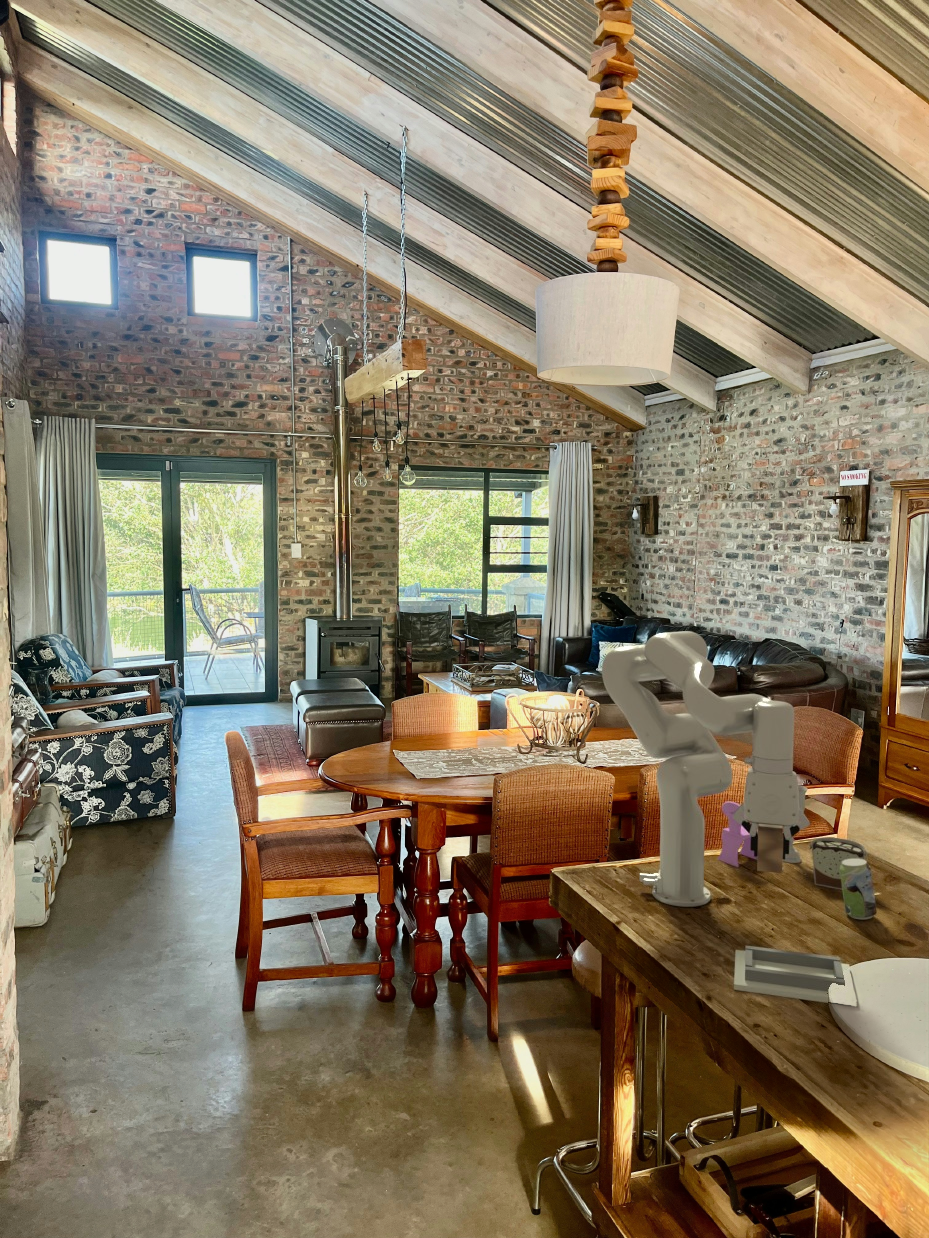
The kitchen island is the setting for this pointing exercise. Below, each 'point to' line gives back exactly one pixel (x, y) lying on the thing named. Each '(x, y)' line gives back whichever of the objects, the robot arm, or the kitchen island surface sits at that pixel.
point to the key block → (770, 848)
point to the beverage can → (857, 888)
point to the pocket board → (787, 973)
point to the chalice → (793, 854)
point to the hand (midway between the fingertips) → (769, 854)
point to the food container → (833, 859)
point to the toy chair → (734, 837)
